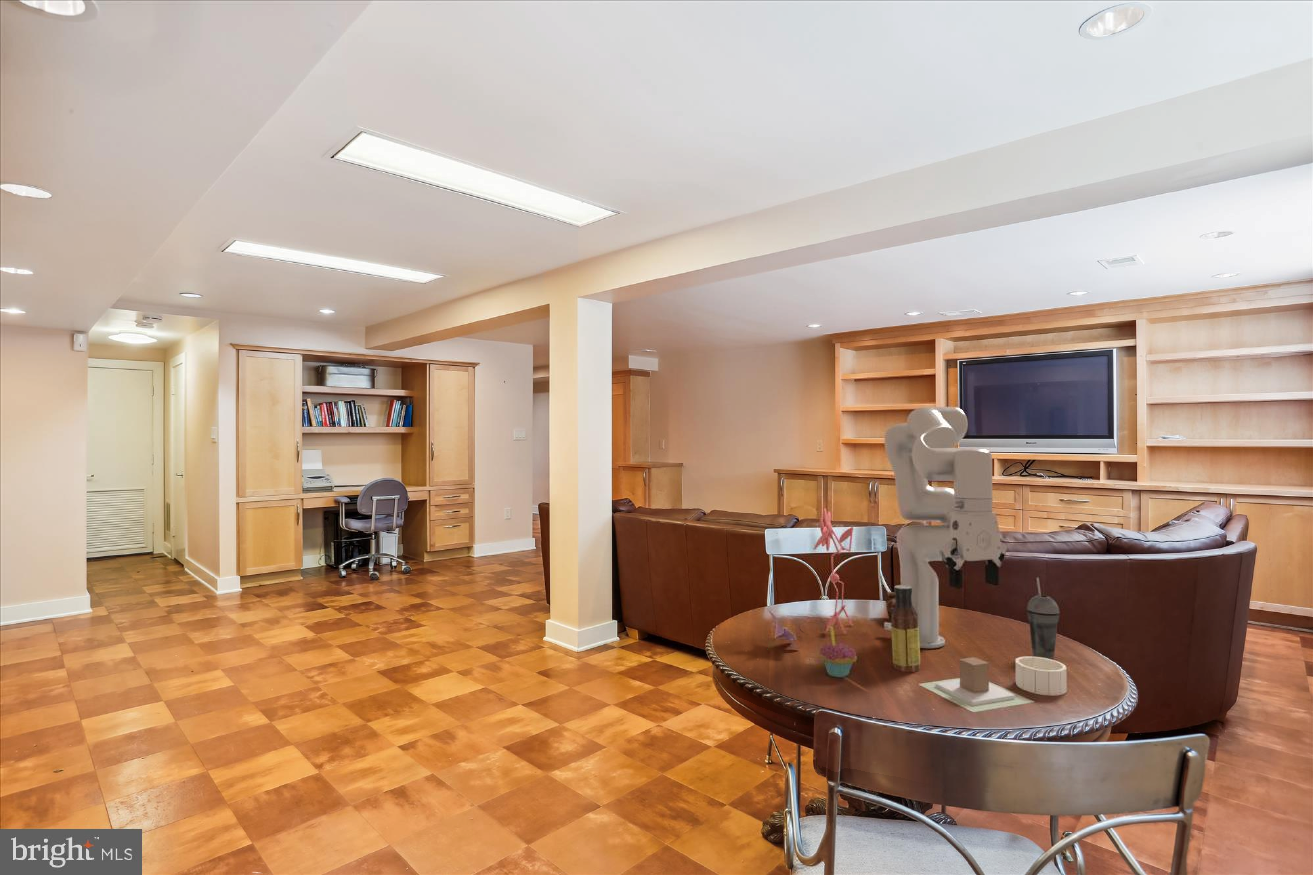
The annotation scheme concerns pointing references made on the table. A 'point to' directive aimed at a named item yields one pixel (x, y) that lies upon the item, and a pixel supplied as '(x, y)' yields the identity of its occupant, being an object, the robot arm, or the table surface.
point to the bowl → (1041, 675)
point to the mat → (976, 708)
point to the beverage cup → (1043, 624)
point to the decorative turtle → (890, 602)
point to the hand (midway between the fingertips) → (974, 585)
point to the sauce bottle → (905, 631)
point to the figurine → (825, 539)
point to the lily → (782, 631)
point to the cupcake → (837, 657)
